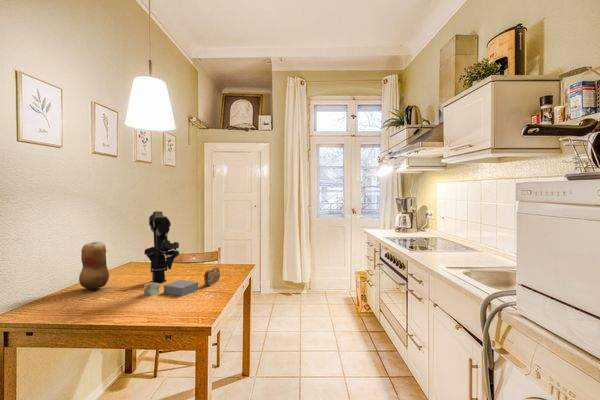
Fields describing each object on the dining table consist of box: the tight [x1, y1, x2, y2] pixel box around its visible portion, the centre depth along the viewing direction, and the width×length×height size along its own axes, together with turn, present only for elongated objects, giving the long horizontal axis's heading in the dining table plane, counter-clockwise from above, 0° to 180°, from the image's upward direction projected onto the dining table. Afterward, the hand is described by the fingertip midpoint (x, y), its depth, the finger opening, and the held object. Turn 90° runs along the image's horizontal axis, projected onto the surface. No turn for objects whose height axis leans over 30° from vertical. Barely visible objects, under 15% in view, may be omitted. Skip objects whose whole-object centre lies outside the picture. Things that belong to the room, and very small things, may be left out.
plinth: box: [163, 279, 199, 297], centre depth 174 cm, size 12×12×4 cm
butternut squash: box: [78, 241, 110, 291], centre depth 176 cm, size 14×13×25 cm
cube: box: [143, 282, 160, 296], centre depth 169 cm, size 5×5×5 cm
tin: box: [203, 267, 221, 286], centre depth 189 cm, size 15×3×8 cm, turn 168°
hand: (163, 268), depth 170 cm, fingers open, 9 cm apart
